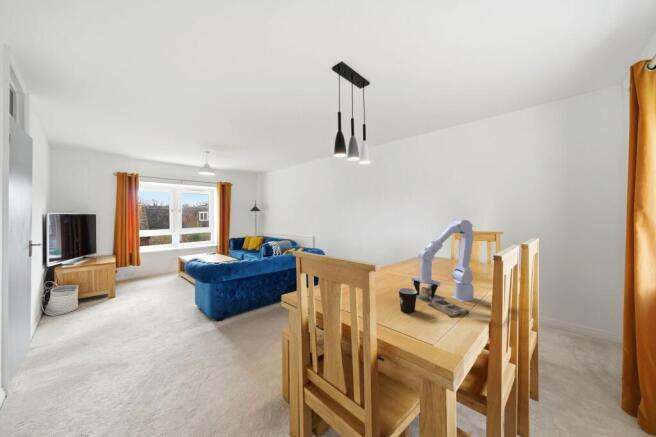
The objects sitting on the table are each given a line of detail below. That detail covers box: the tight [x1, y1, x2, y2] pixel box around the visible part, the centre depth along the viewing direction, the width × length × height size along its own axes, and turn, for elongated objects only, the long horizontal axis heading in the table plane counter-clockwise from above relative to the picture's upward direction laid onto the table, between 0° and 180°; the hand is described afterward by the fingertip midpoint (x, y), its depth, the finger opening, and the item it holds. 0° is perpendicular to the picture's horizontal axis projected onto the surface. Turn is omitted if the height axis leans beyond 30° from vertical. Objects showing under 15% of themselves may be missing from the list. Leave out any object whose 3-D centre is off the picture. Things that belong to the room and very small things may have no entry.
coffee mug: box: [398, 287, 417, 315], centre depth 120 cm, size 12×9×10 cm
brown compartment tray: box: [427, 299, 470, 318], centre depth 121 cm, size 12×14×2 cm
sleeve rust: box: [425, 283, 432, 296], centre depth 139 cm, size 4×4×6 cm
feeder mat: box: [416, 293, 445, 303], centre depth 137 cm, size 14×10×1 cm
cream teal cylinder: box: [420, 286, 429, 301], centre depth 133 cm, size 4×4×6 cm
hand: (425, 296), depth 133 cm, fingers open, 7 cm apart
